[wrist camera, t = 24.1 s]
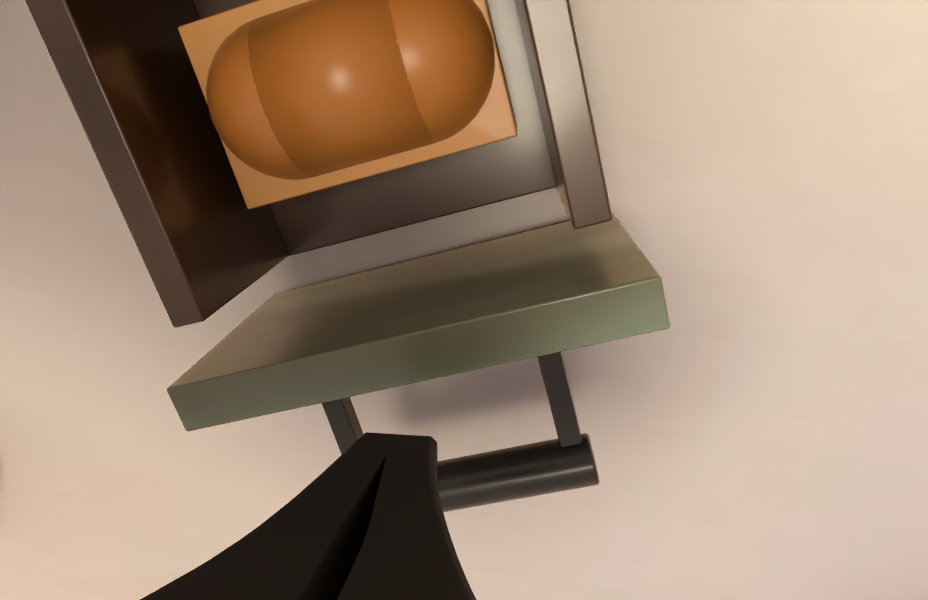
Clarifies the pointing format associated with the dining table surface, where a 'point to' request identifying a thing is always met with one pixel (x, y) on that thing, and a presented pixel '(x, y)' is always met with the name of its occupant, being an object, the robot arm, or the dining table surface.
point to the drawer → (357, 215)
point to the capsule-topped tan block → (347, 88)
